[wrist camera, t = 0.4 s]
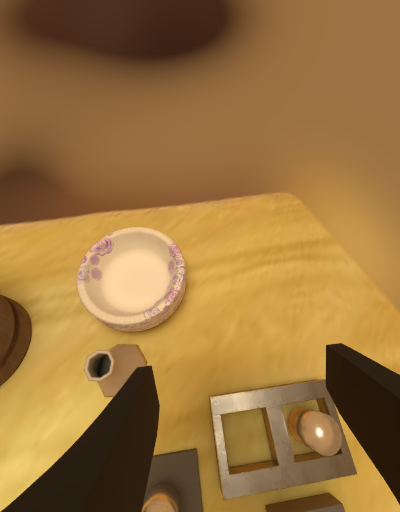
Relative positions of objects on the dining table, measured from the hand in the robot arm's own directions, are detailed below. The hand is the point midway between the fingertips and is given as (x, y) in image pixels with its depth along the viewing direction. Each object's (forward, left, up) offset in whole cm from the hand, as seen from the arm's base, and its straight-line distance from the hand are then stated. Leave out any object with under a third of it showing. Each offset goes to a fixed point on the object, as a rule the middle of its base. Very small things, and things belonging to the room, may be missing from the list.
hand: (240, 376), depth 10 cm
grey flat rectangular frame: (-7, -8, -28) cm, 30 cm away
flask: (+3, +12, -28) cm, 31 cm away
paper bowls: (+15, +9, -28) cm, 33 cm away
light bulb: (-7, -12, -28) cm, 31 cm away
